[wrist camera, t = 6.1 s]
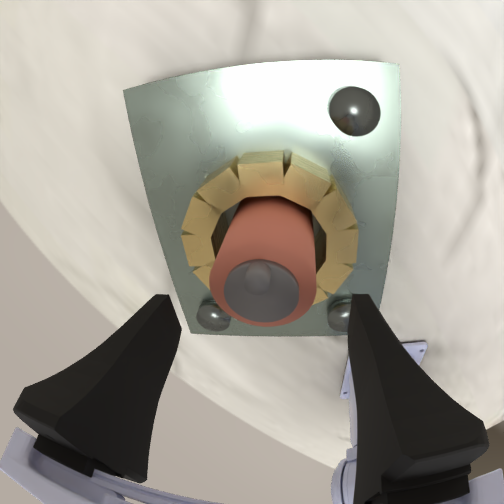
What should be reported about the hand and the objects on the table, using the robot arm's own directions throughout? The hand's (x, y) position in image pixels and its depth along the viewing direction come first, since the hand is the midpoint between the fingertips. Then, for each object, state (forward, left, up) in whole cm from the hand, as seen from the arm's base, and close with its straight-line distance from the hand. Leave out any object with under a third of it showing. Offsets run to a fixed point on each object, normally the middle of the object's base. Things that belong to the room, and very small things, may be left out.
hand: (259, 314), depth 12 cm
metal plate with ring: (0, 0, -10) cm, 10 cm away
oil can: (0, 0, -8) cm, 8 cm away
